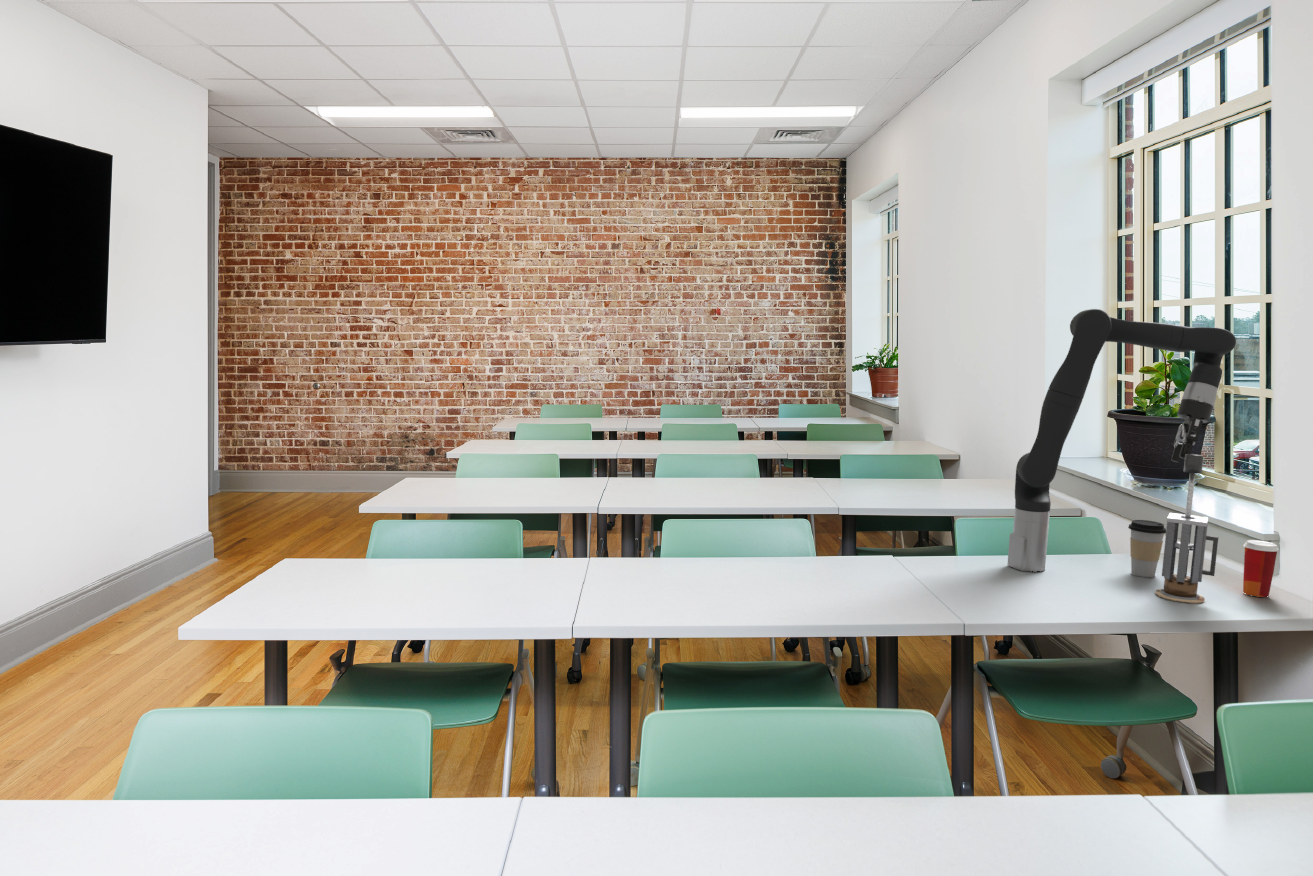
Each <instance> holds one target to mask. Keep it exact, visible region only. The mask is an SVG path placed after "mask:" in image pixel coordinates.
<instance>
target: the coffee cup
mask: <svg viewBox="0 0 1313 876" xmlns="http://www.w3.org/2000/svg"><path fill="white" fill-rule="evenodd" d="M1128 529H1129V530H1130V539H1129V541H1130V548H1129V549H1130V562H1131V564H1130V565H1131V574H1132V575H1133V576H1135V577H1140V576H1141V577H1140V578H1148V577H1151V578H1154V577H1155V576H1156V573H1157V567H1158V564H1159V560H1160V557H1161V551H1162V548H1163V542H1164V541H1163V539H1164V534H1166V529H1167V528H1165V525H1164V523H1161V522H1158V521H1153V520H1145V519H1133V520H1131V523H1129V524H1128Z"/></svg>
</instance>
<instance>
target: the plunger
mask: <svg viewBox="0 0 1313 876" xmlns="http://www.w3.org/2000/svg"><path fill="white" fill-rule="evenodd" d="M1203 465H1204V455H1203V454H1194V453H1191V454H1185V459H1184V464H1183V472H1184V473H1187V474H1188V473H1189V476H1188V477H1189V479H1188V488H1187V496H1186V505H1185V518H1187V519H1191V515H1192V508H1193V500H1194V499H1193V497H1194V490H1195V479H1196V474H1202V473H1203ZM1193 546H1194V543H1191V542H1190V543H1189V545H1188V550H1189V552H1191V551H1192V552H1193ZM1175 548H1176V550H1180V541H1177V542H1176V543H1175Z"/></svg>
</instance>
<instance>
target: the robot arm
mask: <svg viewBox="0 0 1313 876" xmlns="http://www.w3.org/2000/svg"><path fill="white" fill-rule="evenodd" d="M1069 330H1070V333H1071V336H1072V340H1071V343H1070V346H1069V348H1068V353H1067V355H1066V356H1065V359H1064V361H1063V362H1062V363H1061V365H1060V366H1059V368H1058V370H1057V371H1056V373H1055V374H1054V377H1053V378H1052V380H1051V382H1050V384H1049V386H1048V389H1047V392H1046V394H1045V397H1044V400H1043V402H1042V405H1041V410H1040V415H1039V416H1040V417H1039V423H1038V430H1037V435H1036V438H1035V440H1034V442H1033V444H1032V447H1031V449H1030V451H1029V452H1027V453H1025V454H1023V455H1022V456H1021V457H1020V458H1019V459H1018V461H1017V464H1016V468H1015V480H1014V482H1015V483H1014V499H1015V500H1014V504H1015V505H1014V516H1013V517H1014V518H1013V525H1012V526H1013V528H1012V532H1010V534H1009V540H1008V550H1007V551H1008V553H1007V566H1008V567H1011V568H1013V569H1015V570H1018V571H1020V572H1032V571H1033V572H1034V573H1035V572H1036V573H1038V572H1037V571H1040V572H1044V571H1045V570H1046V560H1047V550H1048V539H1049V538H1048V537H1049V525H1050V516H1051V515H1050V513H1051V503H1052V502H1051V499H1050V487H1051V486H1050V484H1051V483H1052V482H1053V480H1054V478H1055V476H1056V473H1057V470H1058V466H1059V462H1060V458H1061V454H1062V451H1063V447H1064V445H1065V442H1066V440H1067V437H1068V435H1069V433H1070V431H1071V429H1072V427H1073V424H1074V422H1075V419H1076V418H1077V415H1078V413H1079V410H1080V407H1081V405H1082V402H1083V399H1084V397H1085V394H1086V391H1087V389H1088V388H1087V387H1088V385H1089V382H1090V379H1091V377H1092V376H1091V375H1092V373H1093V368H1094V367H1095V363H1096V361H1097V358H1098V356H1099V354H1100V353H1101V350H1102V349H1103V346H1104V345H1105V343H1108V342H1110V343H1120V344H1128V345H1134V346H1140V347H1145V348H1151V349H1155V350H1161V351H1169V352H1175V353H1187V352H1194V355H1193V356H1194V357H1193V362H1192V363H1193V365H1192V366H1193V367H1192V369H1191V372H1190V376H1189V378H1188V383H1187V385H1186V387H1185V389H1184V391H1183V393H1182V394H1183V395H1182V398H1181V401H1180V404H1179V407H1178V410H1177V413H1176V415H1177V417H1178V418H1180V419H1183V420H1184V421H1183V423H1182V424H1180V425H1179V426H1178V429H1177V431H1176V435H1175V439H1174V442H1173V443H1172V445H1173V447H1174V448H1173V452H1172V455H1171V458H1170V460H1171V461H1172V462H1175V463H1181V461H1182V459H1184V460H1185V454H1192V450H1193V446H1195V444H1196V443H1197V442H1198V441H1199V436H1200V432H1201V429H1202V426H1203V424H1206V423H1208V422H1210V419H1211V416H1212V413H1213V409H1214V406H1215V402H1216V400H1217V396H1218V390H1219V386H1220V382H1221V380H1222V377H1223V369H1222V368H1221V364H1222V360H1223V357H1224V355H1227V354H1229V353H1231V352H1232V351H1233V350H1234V349H1235V347H1236V344H1237V340H1236V336H1235V335H1234V333H1232V332H1231V331H1230V330H1227V329H1224V328H1222V327H1221V328H1220V327H1213V326H1212V327H1207V326H1205V327H1204V326H1203V327H1202V326H1197V327H1194V326H1193V327H1190V326H1184V325H1177V324H1172V323H1171V324H1169V323H1163V322H1151V321H1150V322H1149V321H1135V320H1125V319H1122V318H1121V319H1119V318H1115V317H1111V316H1110V315H1109V314H1108V313H1107V312H1106V311H1105V310H1102V309H1098V308H1090V309H1085V310H1082V311H1079V312H1078V313H1077V314H1076V315H1074V316H1073V317H1072V319H1071V321H1070V324H1069Z"/></svg>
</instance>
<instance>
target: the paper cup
mask: <svg viewBox="0 0 1313 876" xmlns="http://www.w3.org/2000/svg"><path fill="white" fill-rule="evenodd" d="M1242 547H1244V557H1243V558H1244V559H1243V561H1244V562H1243V578H1242V579H1243V580H1242V581H1243V582H1242V587H1243V588H1242V593H1243V592H1244V593H1246V594H1247V595H1246V596H1248V595H1252V596H1257V597H1256V598H1258V596H1259V597H1267V596H1268V597H1269V596H1270V591H1271V587H1272V581H1273V577H1274V572H1275V566H1276V560H1277V555H1278V552H1279V551H1280V549H1279V548H1278V545H1277V544H1276V543H1274V542H1271V541H1270V542H1269V541H1266V540H1257V539H1248V540H1246V541H1245V542H1244V543H1243V546H1242ZM1244 593H1243V594H1244ZM1252 596H1251V597H1252ZM1268 597H1267V598H1268Z"/></svg>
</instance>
